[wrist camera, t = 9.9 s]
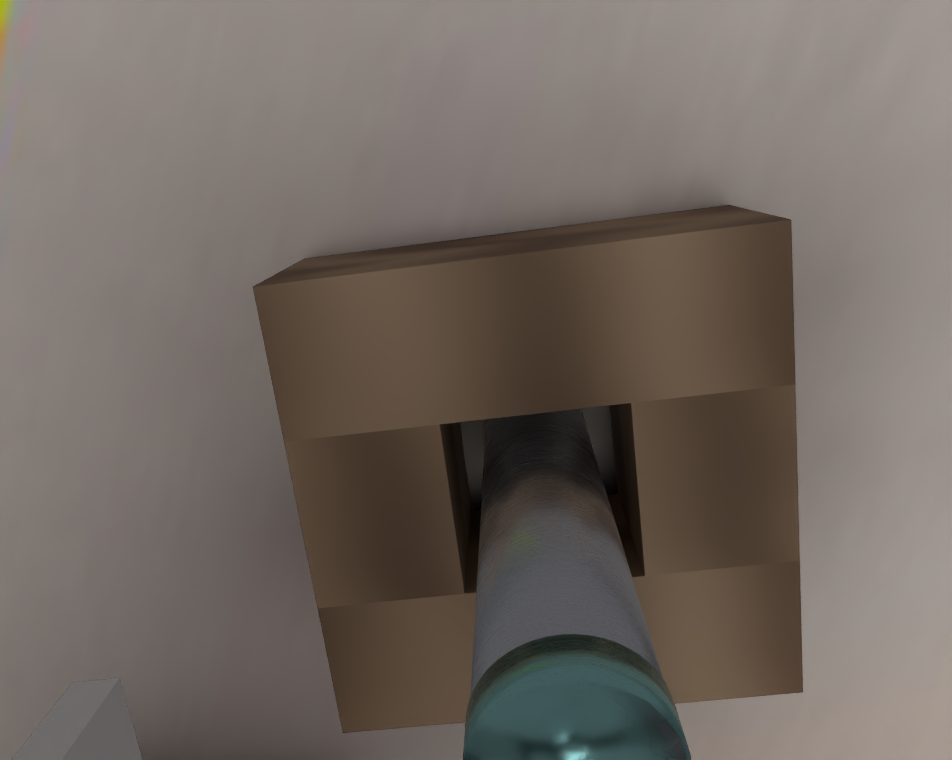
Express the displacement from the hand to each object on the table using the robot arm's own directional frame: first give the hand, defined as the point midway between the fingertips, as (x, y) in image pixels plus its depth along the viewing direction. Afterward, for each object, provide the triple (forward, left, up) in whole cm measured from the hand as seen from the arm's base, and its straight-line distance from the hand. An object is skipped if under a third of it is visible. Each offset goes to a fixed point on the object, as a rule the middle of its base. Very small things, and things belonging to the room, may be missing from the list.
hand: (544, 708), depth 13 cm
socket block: (0, 0, -12) cm, 12 cm away
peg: (0, 0, -12) cm, 12 cm away
